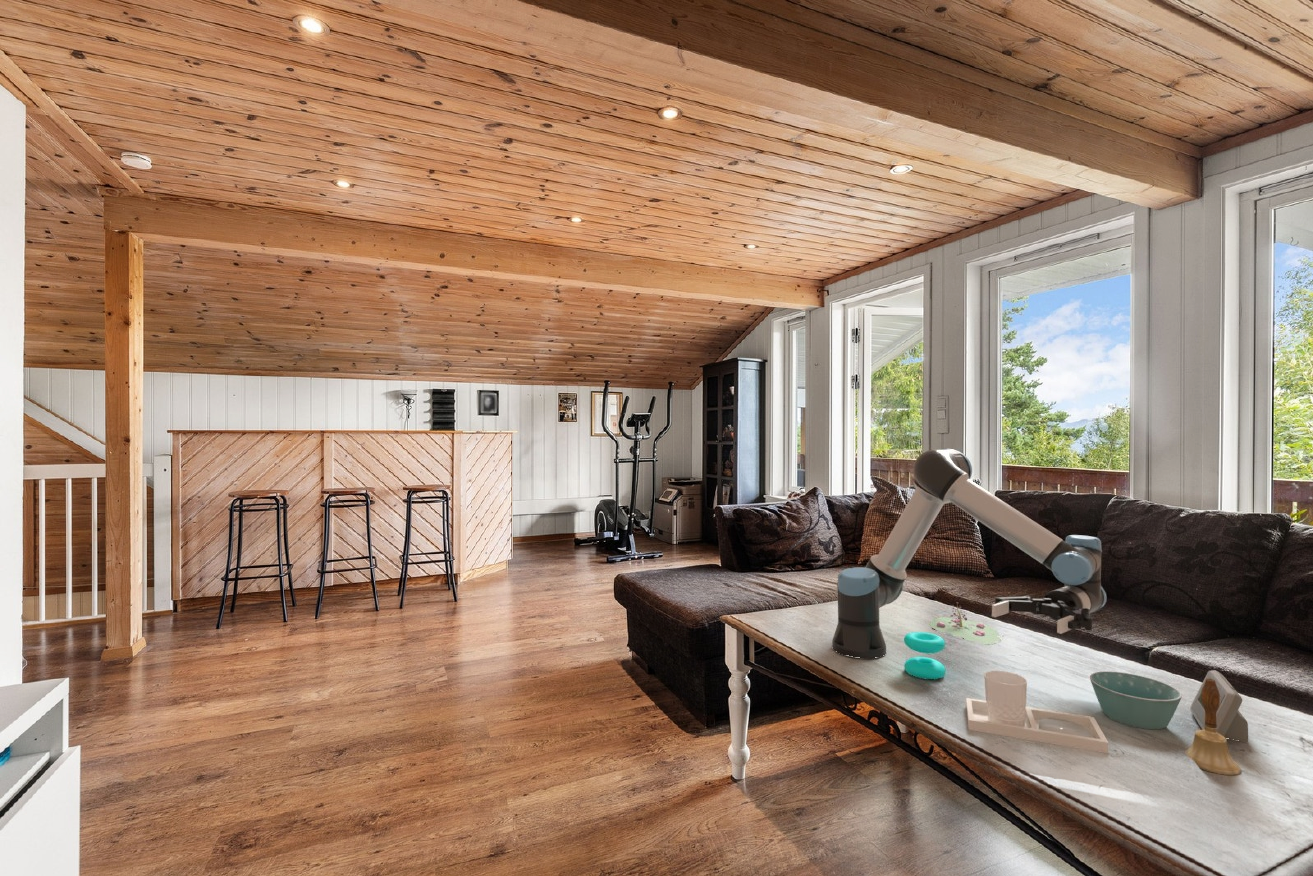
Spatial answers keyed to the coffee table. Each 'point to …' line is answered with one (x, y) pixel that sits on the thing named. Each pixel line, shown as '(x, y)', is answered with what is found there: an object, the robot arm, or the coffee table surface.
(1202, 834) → the coffee table surface
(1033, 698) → the coffee table surface
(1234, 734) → the digital clock
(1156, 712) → the bowl
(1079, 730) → the grey flat disc
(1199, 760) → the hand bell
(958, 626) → the plant
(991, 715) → the white cup
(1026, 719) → the tray
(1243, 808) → the coffee table surface
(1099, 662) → the coffee table surface
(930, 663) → the donuts
